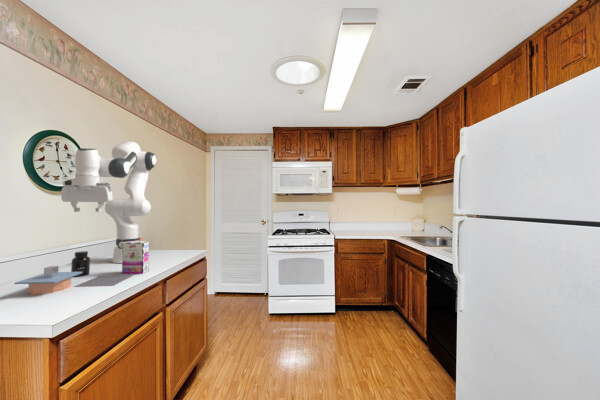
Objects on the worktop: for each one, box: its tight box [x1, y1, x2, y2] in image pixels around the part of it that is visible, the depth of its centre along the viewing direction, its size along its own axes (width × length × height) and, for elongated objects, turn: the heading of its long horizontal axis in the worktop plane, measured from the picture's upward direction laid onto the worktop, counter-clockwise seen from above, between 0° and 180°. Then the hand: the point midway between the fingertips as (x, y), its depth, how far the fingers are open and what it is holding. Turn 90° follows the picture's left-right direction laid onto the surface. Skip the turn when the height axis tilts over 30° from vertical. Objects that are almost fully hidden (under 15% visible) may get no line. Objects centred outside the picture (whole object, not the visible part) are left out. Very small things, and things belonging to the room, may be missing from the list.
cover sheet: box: [14, 265, 83, 285], centre depth 101 cm, size 14×14×5 cm
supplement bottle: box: [70, 250, 91, 278], centre depth 121 cm, size 7×7×12 cm
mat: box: [73, 274, 135, 288], centre depth 113 cm, size 16×16×1 cm
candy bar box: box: [121, 240, 150, 275], centre depth 127 cm, size 11×5×16 cm, turn 88°
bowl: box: [27, 277, 72, 296], centre depth 101 cm, size 12×12×5 cm
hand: (87, 211), depth 115 cm, fingers open, 8 cm apart
